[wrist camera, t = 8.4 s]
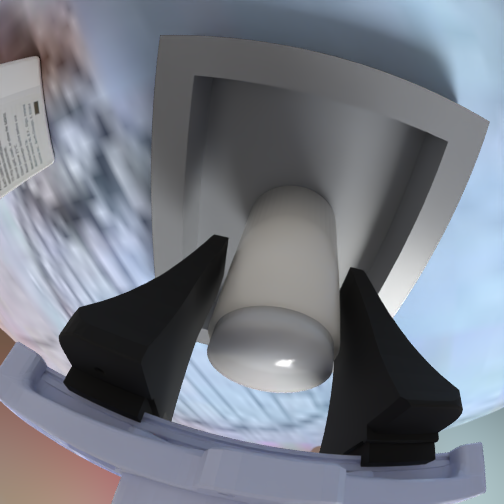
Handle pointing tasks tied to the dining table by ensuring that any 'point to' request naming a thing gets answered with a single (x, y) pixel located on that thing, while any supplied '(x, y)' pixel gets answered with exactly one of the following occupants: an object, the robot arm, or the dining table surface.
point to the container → (22, 124)
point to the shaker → (280, 296)
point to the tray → (304, 154)
